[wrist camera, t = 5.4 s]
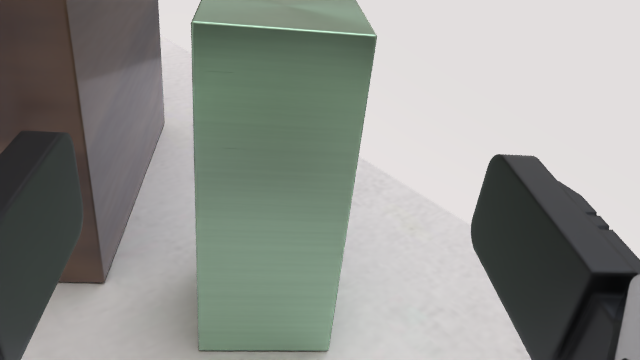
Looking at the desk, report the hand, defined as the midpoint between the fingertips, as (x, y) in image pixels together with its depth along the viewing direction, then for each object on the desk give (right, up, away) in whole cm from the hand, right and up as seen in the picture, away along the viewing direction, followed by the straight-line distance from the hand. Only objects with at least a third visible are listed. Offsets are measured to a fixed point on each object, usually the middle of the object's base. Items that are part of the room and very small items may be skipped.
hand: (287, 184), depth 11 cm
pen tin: (-1, -5, +10) cm, 11 cm away
